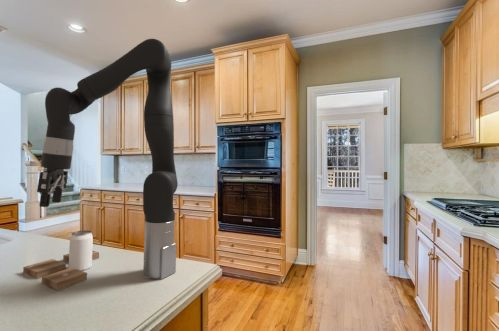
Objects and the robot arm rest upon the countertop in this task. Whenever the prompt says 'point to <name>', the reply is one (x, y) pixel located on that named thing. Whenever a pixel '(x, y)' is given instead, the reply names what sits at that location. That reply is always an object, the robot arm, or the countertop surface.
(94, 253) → the tile
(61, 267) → the tile
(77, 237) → the can
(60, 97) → the robot arm
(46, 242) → the countertop surface
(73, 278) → the tile
